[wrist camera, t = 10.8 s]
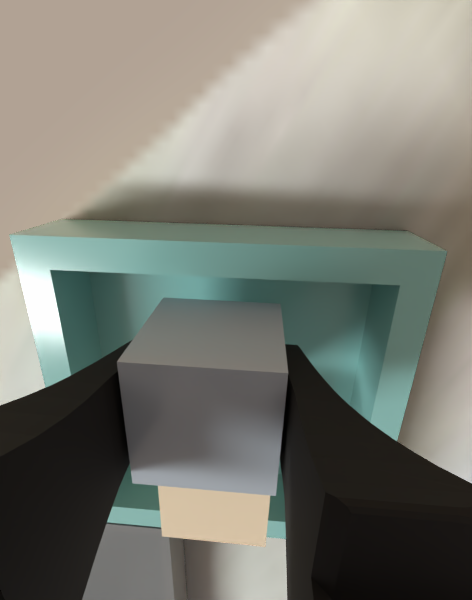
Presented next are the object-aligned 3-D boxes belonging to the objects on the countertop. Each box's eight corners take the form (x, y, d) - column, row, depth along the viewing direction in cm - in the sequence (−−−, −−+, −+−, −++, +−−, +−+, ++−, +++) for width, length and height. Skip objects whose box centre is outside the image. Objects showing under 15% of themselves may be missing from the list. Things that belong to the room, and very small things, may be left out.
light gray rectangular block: (280, 303, 11) (288, 372, 8) (272, 400, 13) (275, 496, 9) (163, 297, 12) (117, 361, 8) (169, 392, 13) (132, 483, 10)
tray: (180, 483, 19) (168, 529, 16) (189, 633, 24) (181, 683, 22) (-111, 459, 20) (-160, 499, 17) (-36, 608, 25) (-66, 653, 23)
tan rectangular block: (270, 394, 15) (272, 470, 11) (265, 460, 17) (265, 546, 13) (182, 387, 15) (155, 459, 12) (184, 454, 17) (162, 536, 13)
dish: (407, 230, 13) (447, 251, 10) (352, 485, 18) (369, 546, 15) (61, 218, 13) (9, 234, 11) (104, 465, 18) (77, 519, 16)
